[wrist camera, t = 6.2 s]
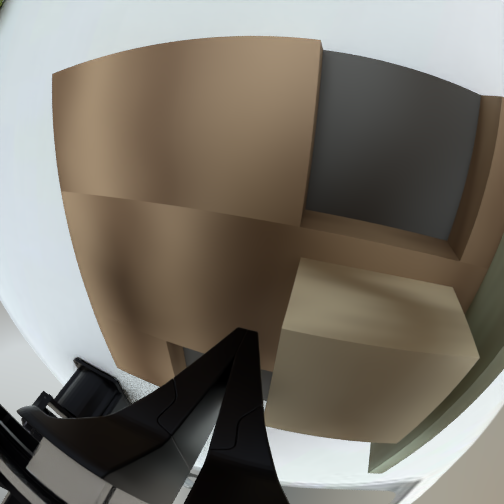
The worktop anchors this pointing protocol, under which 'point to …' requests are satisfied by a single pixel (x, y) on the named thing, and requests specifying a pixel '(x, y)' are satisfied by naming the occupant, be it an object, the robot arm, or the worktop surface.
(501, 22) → the worktop surface
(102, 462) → the robot arm
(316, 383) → the birch block
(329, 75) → the board
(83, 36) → the worktop surface
